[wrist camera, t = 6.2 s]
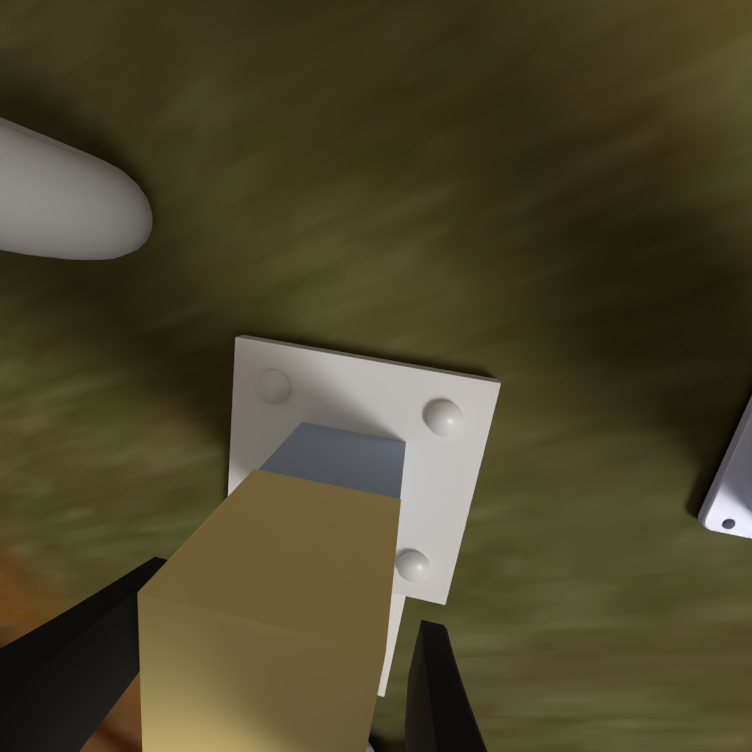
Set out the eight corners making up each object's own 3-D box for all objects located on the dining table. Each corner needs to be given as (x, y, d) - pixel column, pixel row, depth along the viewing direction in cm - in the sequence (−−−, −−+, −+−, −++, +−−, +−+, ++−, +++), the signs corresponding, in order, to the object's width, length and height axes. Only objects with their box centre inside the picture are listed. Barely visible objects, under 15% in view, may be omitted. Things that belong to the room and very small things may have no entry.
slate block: (406, 442, 16) (399, 506, 11) (389, 533, 18) (376, 625, 13) (301, 421, 17) (253, 475, 12) (292, 512, 18) (244, 594, 13)
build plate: (497, 378, 16) (502, 385, 15) (444, 592, 19) (445, 610, 18) (244, 334, 17) (232, 337, 16) (232, 543, 20) (221, 558, 19)
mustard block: (401, 499, 11) (385, 653, 7) (378, 620, 13) (351, 823, 8) (253, 468, 12) (137, 592, 7) (246, 588, 13) (143, 763, 8)
